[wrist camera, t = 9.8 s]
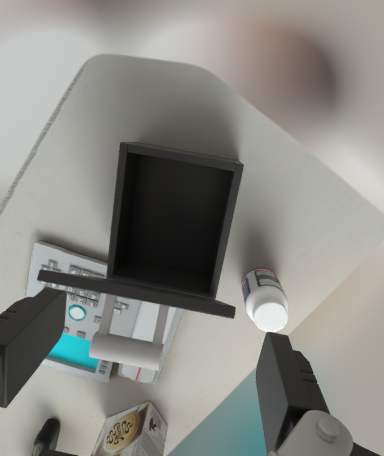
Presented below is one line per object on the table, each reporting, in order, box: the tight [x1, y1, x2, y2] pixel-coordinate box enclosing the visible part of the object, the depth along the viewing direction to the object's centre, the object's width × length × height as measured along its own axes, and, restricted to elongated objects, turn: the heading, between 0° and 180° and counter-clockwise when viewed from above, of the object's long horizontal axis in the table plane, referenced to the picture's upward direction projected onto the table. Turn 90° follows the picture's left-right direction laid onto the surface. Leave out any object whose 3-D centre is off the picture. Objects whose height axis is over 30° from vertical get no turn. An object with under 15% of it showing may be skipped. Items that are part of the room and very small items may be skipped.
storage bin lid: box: [37, 269, 236, 371], centre depth 30 cm, size 18×14×5 cm
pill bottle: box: [242, 269, 288, 332], centre depth 41 cm, size 5×5×9 cm
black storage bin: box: [106, 142, 244, 300], centre depth 41 cm, size 17×14×7 cm
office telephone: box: [25, 240, 184, 385], centre depth 48 cm, size 23×3×20 cm
